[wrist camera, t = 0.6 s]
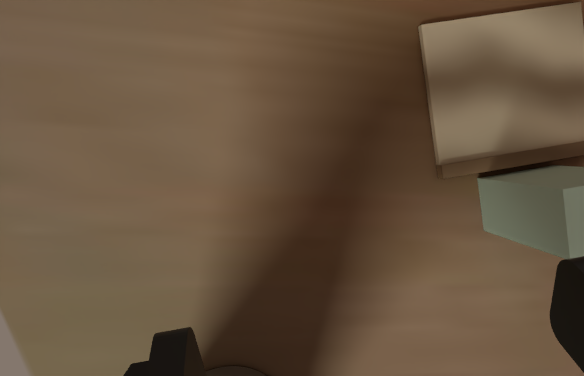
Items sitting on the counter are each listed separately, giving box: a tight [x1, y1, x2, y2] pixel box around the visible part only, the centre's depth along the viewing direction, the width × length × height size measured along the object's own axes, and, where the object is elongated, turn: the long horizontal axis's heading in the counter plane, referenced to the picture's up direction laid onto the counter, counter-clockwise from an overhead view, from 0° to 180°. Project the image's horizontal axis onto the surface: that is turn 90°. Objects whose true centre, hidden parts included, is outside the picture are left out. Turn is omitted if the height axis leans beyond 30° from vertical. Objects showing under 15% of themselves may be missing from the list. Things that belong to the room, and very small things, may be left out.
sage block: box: [477, 165, 584, 259], centre depth 33 cm, size 4×6×10 cm, turn 99°
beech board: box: [418, 2, 584, 179], centre depth 36 cm, size 11×12×1 cm
